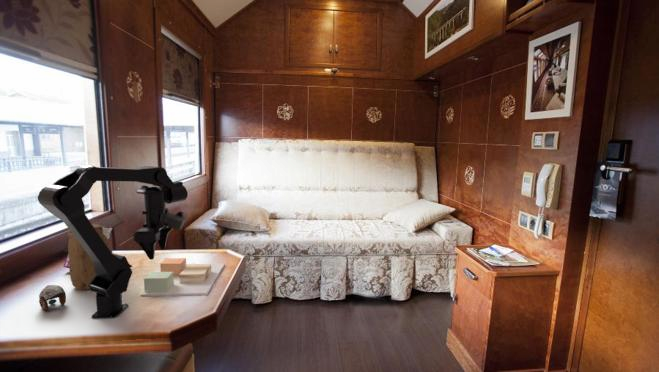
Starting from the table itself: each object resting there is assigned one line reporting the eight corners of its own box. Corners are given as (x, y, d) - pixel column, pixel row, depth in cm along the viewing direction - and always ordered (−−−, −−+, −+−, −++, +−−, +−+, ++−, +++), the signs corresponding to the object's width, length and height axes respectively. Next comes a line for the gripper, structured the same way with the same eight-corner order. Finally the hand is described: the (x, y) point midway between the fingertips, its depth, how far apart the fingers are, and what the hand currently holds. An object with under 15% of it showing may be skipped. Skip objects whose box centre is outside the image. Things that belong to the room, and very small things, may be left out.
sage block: (167, 291, 102) (167, 278, 101) (144, 291, 101) (143, 278, 101) (173, 284, 107) (173, 271, 106) (151, 284, 106) (151, 271, 106)
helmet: (61, 305, 96) (53, 283, 96) (75, 300, 92) (67, 277, 92) (37, 315, 90) (29, 292, 90) (51, 310, 87) (42, 286, 87)
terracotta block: (181, 275, 114) (180, 263, 113) (160, 275, 113) (160, 263, 112) (186, 269, 119) (185, 258, 118) (166, 270, 118) (166, 258, 117)
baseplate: (207, 294, 102) (207, 293, 102) (140, 296, 100) (140, 294, 100) (224, 265, 125) (224, 263, 125) (171, 265, 123) (171, 264, 123)
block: (82, 293, 100) (76, 231, 97) (68, 288, 104) (62, 228, 101) (117, 280, 110) (113, 223, 107) (104, 275, 113) (99, 220, 110)
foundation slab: (204, 282, 109) (203, 274, 108) (179, 283, 108) (179, 274, 108) (211, 271, 118) (211, 263, 117) (188, 272, 117) (188, 264, 116)
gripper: (172, 213, 93) (174, 264, 95) (190, 200, 111) (192, 244, 113) (130, 213, 91) (133, 265, 93) (156, 200, 109) (158, 244, 112)
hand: (157, 253), depth 103 cm, fingers open, 9 cm apart
